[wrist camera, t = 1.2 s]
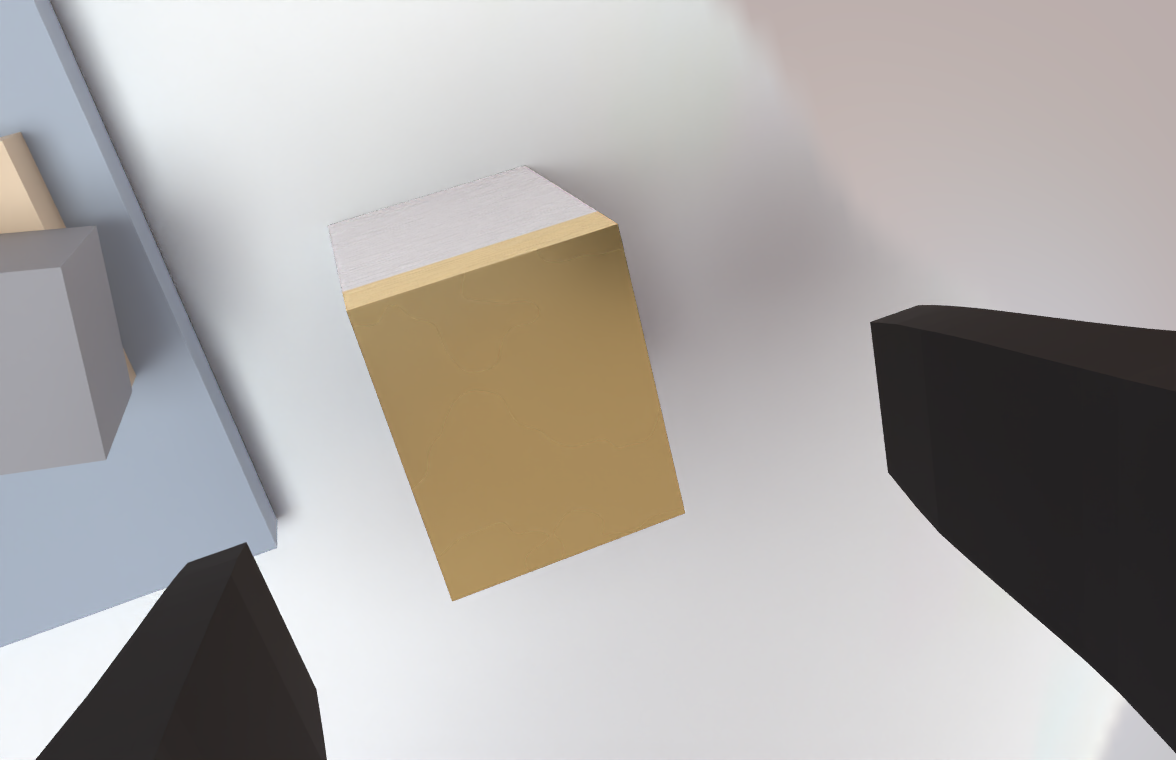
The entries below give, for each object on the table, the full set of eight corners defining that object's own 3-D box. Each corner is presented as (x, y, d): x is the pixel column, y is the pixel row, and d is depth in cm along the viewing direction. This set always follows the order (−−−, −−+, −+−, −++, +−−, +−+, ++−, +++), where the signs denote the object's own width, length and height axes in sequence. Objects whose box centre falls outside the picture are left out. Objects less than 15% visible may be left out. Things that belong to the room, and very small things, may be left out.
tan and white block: (583, 387, 22) (684, 512, 16) (407, 448, 21) (453, 601, 15) (524, 165, 20) (617, 224, 14) (327, 224, 19) (346, 311, 13)
